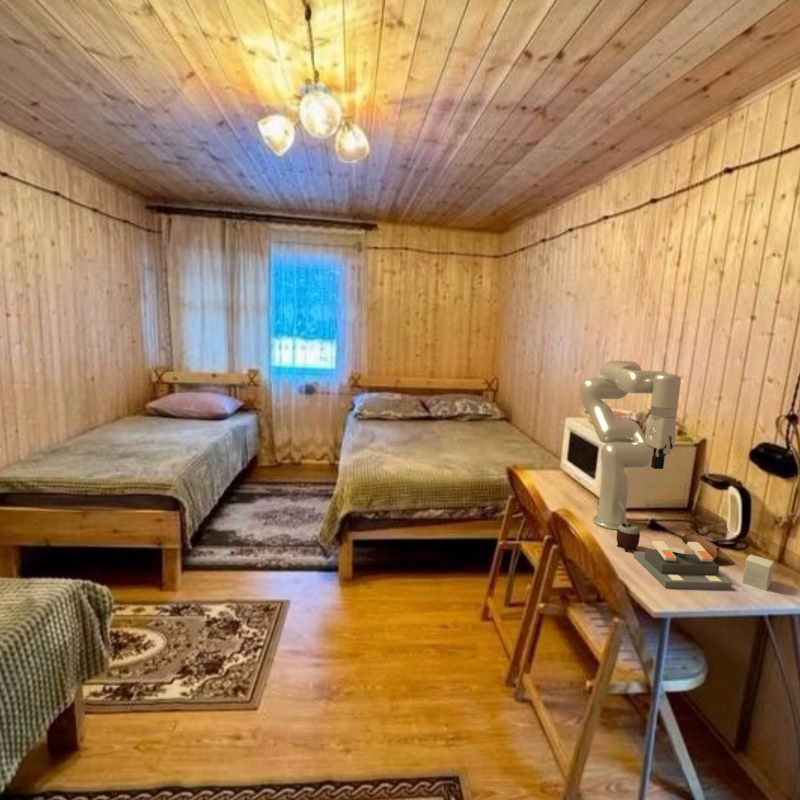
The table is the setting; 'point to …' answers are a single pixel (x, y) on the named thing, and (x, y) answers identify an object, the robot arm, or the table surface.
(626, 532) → the mate gourd
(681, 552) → the rocker middle
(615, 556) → the table surface
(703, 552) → the rocker
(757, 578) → the product box
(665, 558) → the block
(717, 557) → the sunglasses case
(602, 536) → the table surface
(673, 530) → the table surface
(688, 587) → the switch panel
